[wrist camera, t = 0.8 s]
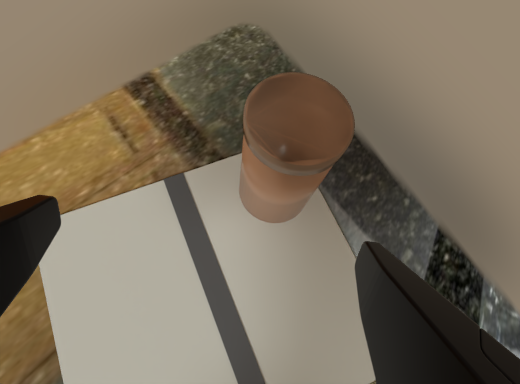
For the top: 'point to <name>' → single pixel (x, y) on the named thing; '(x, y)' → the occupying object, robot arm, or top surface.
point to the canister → (290, 143)
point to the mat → (203, 289)
